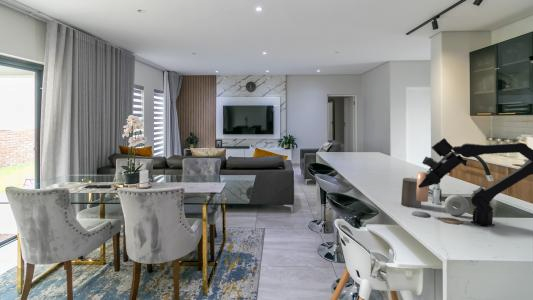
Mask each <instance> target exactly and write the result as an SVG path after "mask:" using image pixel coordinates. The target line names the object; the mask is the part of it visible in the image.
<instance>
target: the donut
mask: <svg viewBox="0 0 533 300" xmlns="http://www.w3.org/2000/svg"><path fill="white" fill-rule="evenodd" d="M454 203H459V205H460V206H459V207H458V208H457V207H454V206H453V204H454ZM443 205H444V209H445V211H446V212H447V213H448V214H450V215H452V216H456V217H458V216H462V215H465V214H466V213H467V212H468V211H469V207H470V206H469V201H468V200H467V198H466V197H465V196H463V195H460V194H451V195H449V196H447V198H446V199H445V200H444V203H443Z"/></svg>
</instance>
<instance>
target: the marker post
mask: <svg viewBox="0 0 533 300" xmlns="http://www.w3.org/2000/svg"><path fill="white" fill-rule="evenodd" d="M426 173H427V171H417V175H416V176H417V177H416V179H417V191H416V200H417V201H420V202H421V203H427V202H428V201H429V187H430V186H426V187H422V188H419V187H418V186H419V185H420V184H421V182H422V181H423V180H424V179H425V178H426Z"/></svg>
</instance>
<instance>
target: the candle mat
mask: <svg viewBox="0 0 533 300" xmlns="http://www.w3.org/2000/svg"><path fill="white" fill-rule="evenodd" d="M411 215H412V216H415V217H419V218H429V217H430V216H431V214H430V213H429V212H425V211H419V210H417V211H412V212H411Z"/></svg>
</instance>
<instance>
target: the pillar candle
mask: <svg viewBox="0 0 533 300" xmlns="http://www.w3.org/2000/svg"><path fill="white" fill-rule="evenodd" d="M401 185H402V187H401V201H400V202H401V203H400V204H401V206H403V207H407V208H413V209H414V208H416V209H417V208H421V207H422V202H420V201H417V200H416V191H417V177H416V178H415V177H413V176H412V177H403V178H402V184H401Z"/></svg>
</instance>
